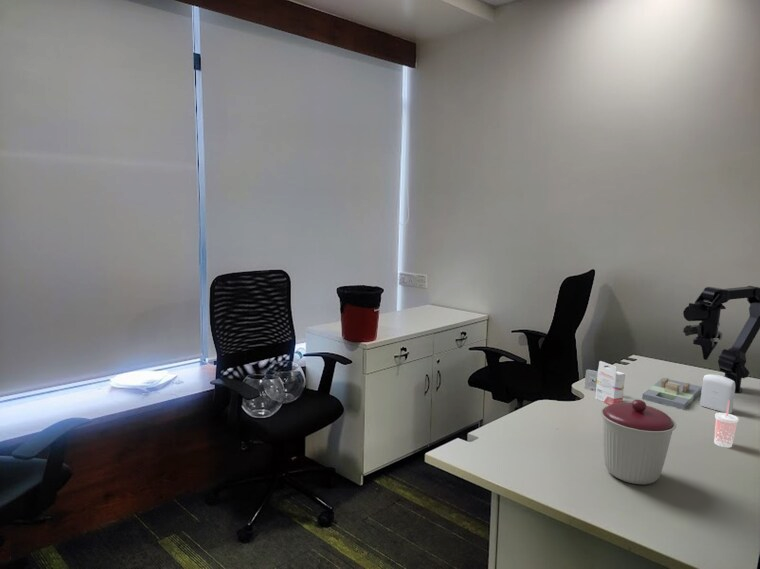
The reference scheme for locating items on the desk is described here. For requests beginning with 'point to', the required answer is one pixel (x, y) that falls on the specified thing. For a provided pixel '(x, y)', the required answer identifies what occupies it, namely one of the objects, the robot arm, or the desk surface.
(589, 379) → the cassette
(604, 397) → the ink cartridge box
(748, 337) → the robot arm
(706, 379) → the photo printer
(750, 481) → the desk surface
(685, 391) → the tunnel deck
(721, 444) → the beverage cup
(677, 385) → the birch block
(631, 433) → the canister
